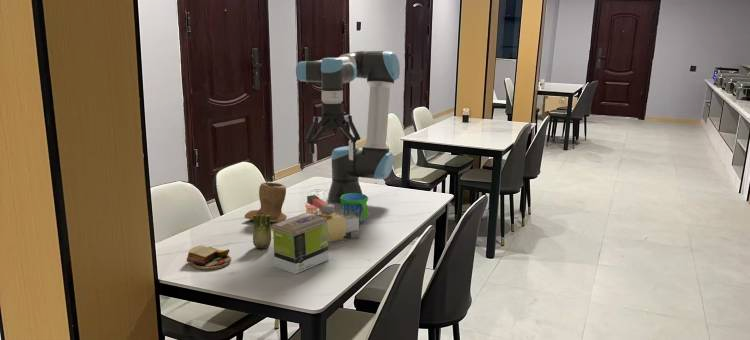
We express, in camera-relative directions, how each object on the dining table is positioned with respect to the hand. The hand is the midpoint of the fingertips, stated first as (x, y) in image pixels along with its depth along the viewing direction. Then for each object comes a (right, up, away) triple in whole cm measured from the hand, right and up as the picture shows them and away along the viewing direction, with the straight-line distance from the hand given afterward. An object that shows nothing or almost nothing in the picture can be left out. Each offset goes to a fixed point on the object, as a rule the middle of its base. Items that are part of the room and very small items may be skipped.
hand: (333, 160), depth 217 cm
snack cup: (+7, -24, +17) cm, 30 cm away
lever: (-4, -17, -1) cm, 18 cm away
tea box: (-8, -34, -24) cm, 42 cm away
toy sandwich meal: (-38, -34, -24) cm, 56 cm away
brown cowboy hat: (-27, -23, +19) cm, 40 cm away
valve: (-1, -28, -3) cm, 29 cm away
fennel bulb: (-24, -30, -11) cm, 40 cm away
